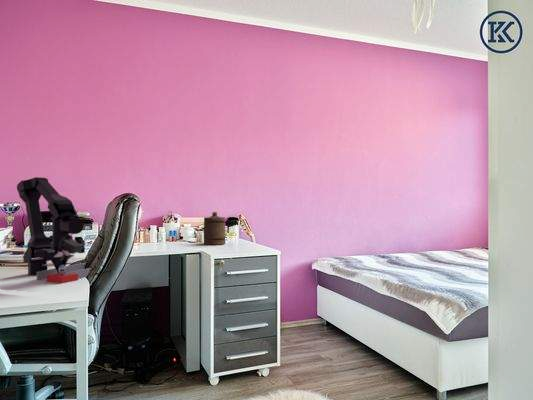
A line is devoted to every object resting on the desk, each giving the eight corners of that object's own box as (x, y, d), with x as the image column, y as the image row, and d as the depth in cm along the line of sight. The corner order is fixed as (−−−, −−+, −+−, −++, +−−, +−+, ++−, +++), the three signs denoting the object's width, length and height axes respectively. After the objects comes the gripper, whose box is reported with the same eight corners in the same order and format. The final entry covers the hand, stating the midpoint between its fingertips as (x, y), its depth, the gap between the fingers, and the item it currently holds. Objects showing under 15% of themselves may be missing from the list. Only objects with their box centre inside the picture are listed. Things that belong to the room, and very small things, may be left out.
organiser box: (36, 279, 150) (36, 271, 150) (86, 269, 174) (86, 262, 174) (64, 282, 146) (64, 273, 146) (111, 270, 170) (111, 263, 170)
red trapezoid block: (78, 281, 150) (78, 264, 150) (61, 284, 144) (61, 266, 144) (63, 279, 153) (63, 262, 153) (46, 282, 147) (46, 265, 147)
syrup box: (75, 261, 197) (75, 231, 197) (66, 263, 191) (66, 232, 191) (65, 261, 199) (65, 231, 199) (56, 263, 193) (56, 232, 193)
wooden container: (229, 243, 285) (229, 211, 285) (218, 245, 272) (217, 212, 272) (211, 242, 291) (211, 211, 291) (199, 244, 278) (199, 212, 278)
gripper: (57, 235, 142) (56, 280, 141) (96, 232, 159) (95, 272, 159) (33, 234, 145) (32, 277, 145) (73, 231, 163) (73, 270, 163)
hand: (60, 274), depth 153 cm, fingers closed
